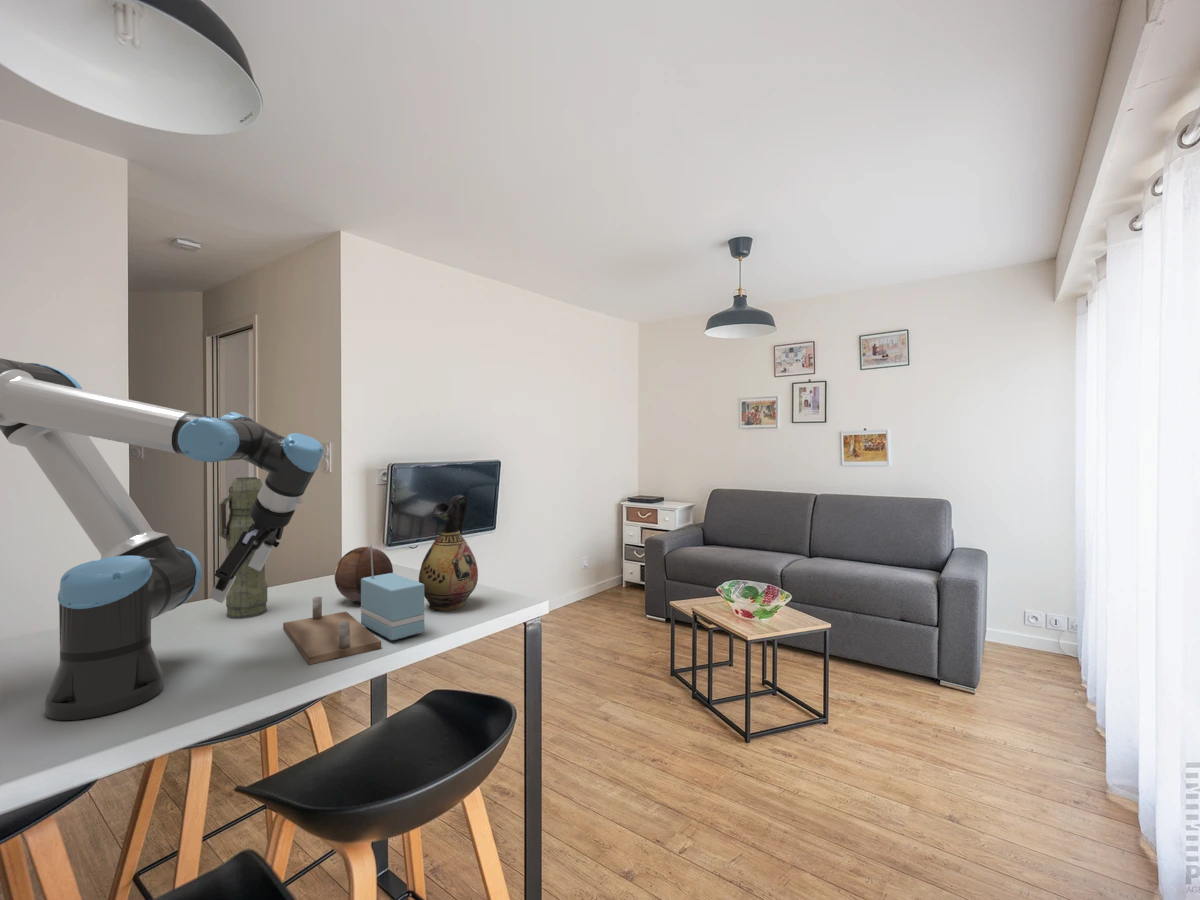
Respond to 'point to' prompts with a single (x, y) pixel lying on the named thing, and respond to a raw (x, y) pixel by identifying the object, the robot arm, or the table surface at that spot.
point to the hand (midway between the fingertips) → (236, 582)
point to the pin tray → (329, 635)
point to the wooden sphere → (359, 570)
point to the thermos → (249, 583)
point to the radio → (392, 605)
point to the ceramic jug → (449, 561)
